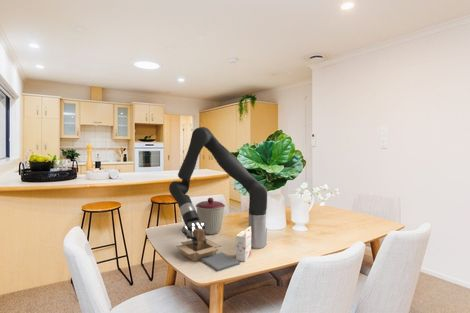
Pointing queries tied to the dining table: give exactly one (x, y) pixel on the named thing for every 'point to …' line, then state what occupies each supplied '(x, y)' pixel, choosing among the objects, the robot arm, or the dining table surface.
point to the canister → (211, 215)
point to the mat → (219, 261)
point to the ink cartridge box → (243, 245)
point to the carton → (196, 255)
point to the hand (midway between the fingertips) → (201, 243)
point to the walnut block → (199, 239)
